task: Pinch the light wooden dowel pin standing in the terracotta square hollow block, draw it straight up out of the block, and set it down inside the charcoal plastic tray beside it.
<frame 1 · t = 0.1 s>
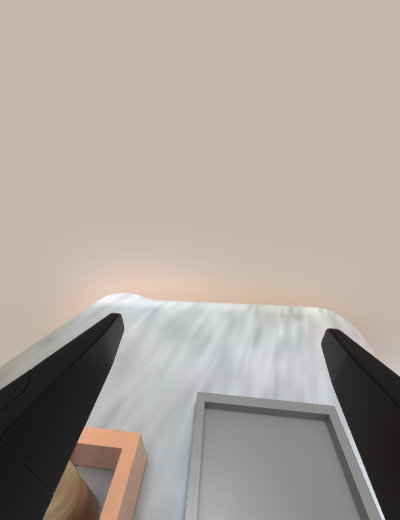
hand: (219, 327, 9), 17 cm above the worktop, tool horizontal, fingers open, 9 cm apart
charcoal tray: (274, 504, 16), on the worktop
terracotta square hollow block: (81, 518, 15), on the worktop
dowel pin: (62, 498, 13), in the terracotta square hollow block
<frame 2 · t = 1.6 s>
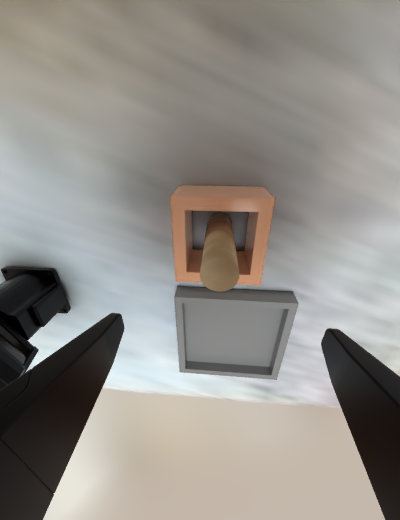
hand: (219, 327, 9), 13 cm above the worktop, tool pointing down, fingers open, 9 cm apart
charcoal tray: (230, 329, 27), on the worktop
terracotta square hollow block: (219, 225, 21), on the worktop
dowel pin: (219, 244, 17), in the terracotta square hollow block
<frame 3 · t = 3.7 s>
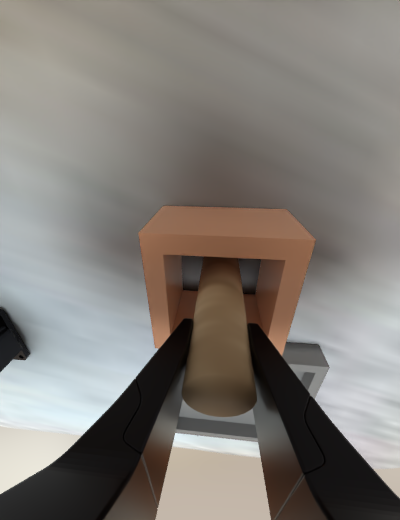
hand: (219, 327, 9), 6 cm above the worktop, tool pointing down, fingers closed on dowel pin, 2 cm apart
charcoal tray: (233, 384, 21), on the worktop
terracotta square hollow block: (220, 260, 15), on the worktop
dowel pin: (220, 304, 11), in the terracotta square hollow block, touching gripper
when the fingers open (8 cm above the worktop, at t = 7.8 s): dowel pin drops 1 cm, resting on charcoal tray.
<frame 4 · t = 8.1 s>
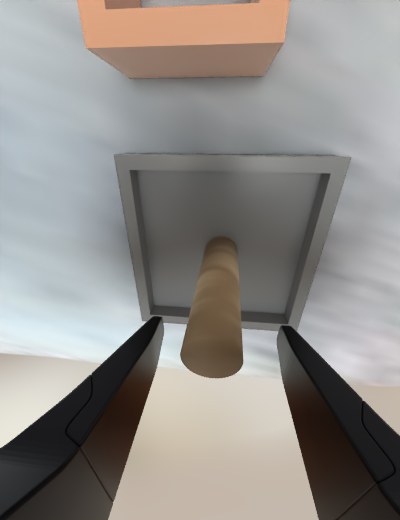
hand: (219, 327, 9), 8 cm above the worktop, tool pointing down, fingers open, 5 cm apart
charcoal tray: (221, 247, 17), on the worktop
dowel pin: (217, 287, 12), in the charcoal tray, point 5 cm above the worktop
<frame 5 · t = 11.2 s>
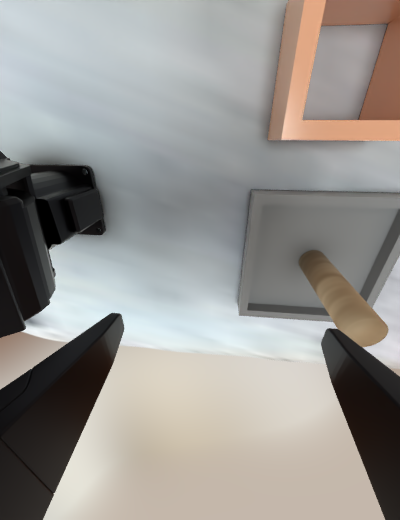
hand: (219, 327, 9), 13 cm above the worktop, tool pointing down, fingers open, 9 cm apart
charcoal tray: (308, 257, 22), on the worktop
terracotta square hollow block: (330, 79, 15), on the worktop
dowel pin: (332, 288, 17), in the charcoal tray, point 5 cm above the worktop
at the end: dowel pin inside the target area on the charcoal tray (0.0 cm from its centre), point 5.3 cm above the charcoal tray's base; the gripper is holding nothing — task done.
